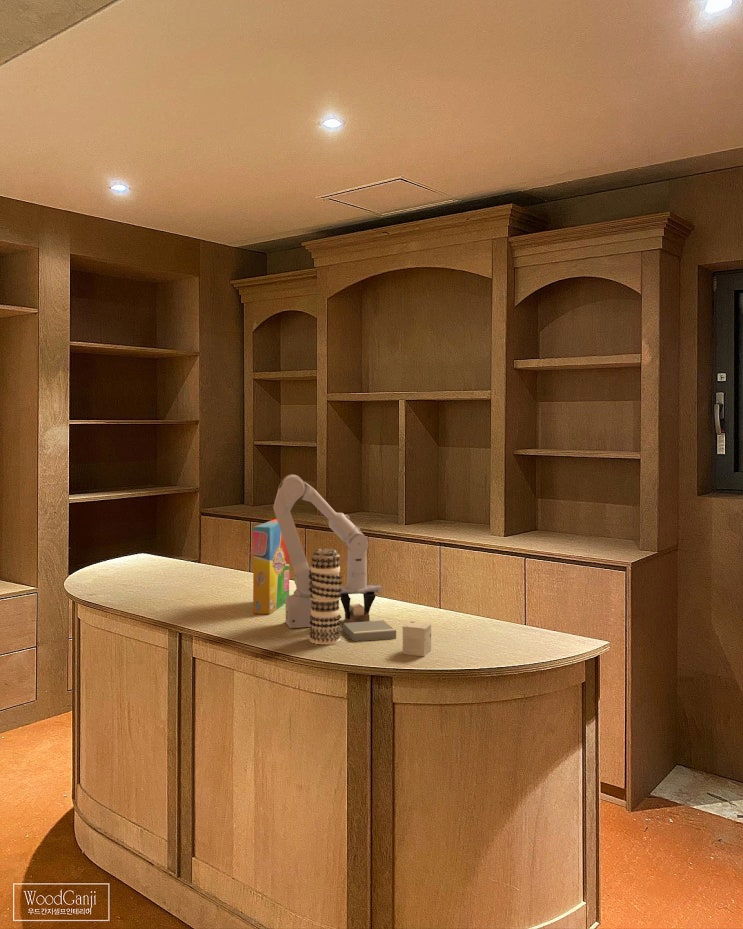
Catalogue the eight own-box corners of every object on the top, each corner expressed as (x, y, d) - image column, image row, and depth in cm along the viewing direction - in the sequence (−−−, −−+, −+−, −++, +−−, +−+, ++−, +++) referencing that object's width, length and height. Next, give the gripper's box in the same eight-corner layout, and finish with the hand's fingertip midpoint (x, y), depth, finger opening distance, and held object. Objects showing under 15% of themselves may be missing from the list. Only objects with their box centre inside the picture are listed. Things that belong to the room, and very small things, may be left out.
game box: (269, 615, 247) (269, 527, 246) (252, 614, 248) (252, 526, 247) (289, 600, 268) (289, 518, 266) (273, 599, 269) (273, 518, 267)
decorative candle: (301, 640, 220) (301, 549, 218) (326, 634, 226) (327, 546, 225) (323, 647, 213) (323, 554, 212) (348, 640, 220) (349, 550, 218)
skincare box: (424, 657, 206) (424, 628, 205) (401, 654, 208) (402, 626, 208) (431, 650, 211) (431, 623, 211) (409, 648, 214) (409, 620, 213)
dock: (354, 641, 219) (354, 632, 219) (343, 629, 231) (343, 622, 231) (396, 638, 223) (396, 629, 223) (383, 627, 234) (383, 619, 234)
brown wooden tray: (352, 627, 234) (352, 616, 234) (344, 620, 243) (344, 608, 243) (369, 626, 236) (369, 615, 235) (360, 619, 244) (360, 607, 244)
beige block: (353, 618, 236) (353, 608, 236) (349, 614, 241) (349, 604, 241) (364, 617, 237) (364, 607, 237) (359, 613, 242) (359, 603, 242)
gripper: (336, 576, 232) (336, 622, 233) (384, 573, 237) (384, 619, 237) (330, 571, 239) (330, 616, 240) (377, 569, 243) (377, 613, 244)
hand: (356, 617), depth 239 cm, fingers closed on brown wooden tray, 5 cm apart
